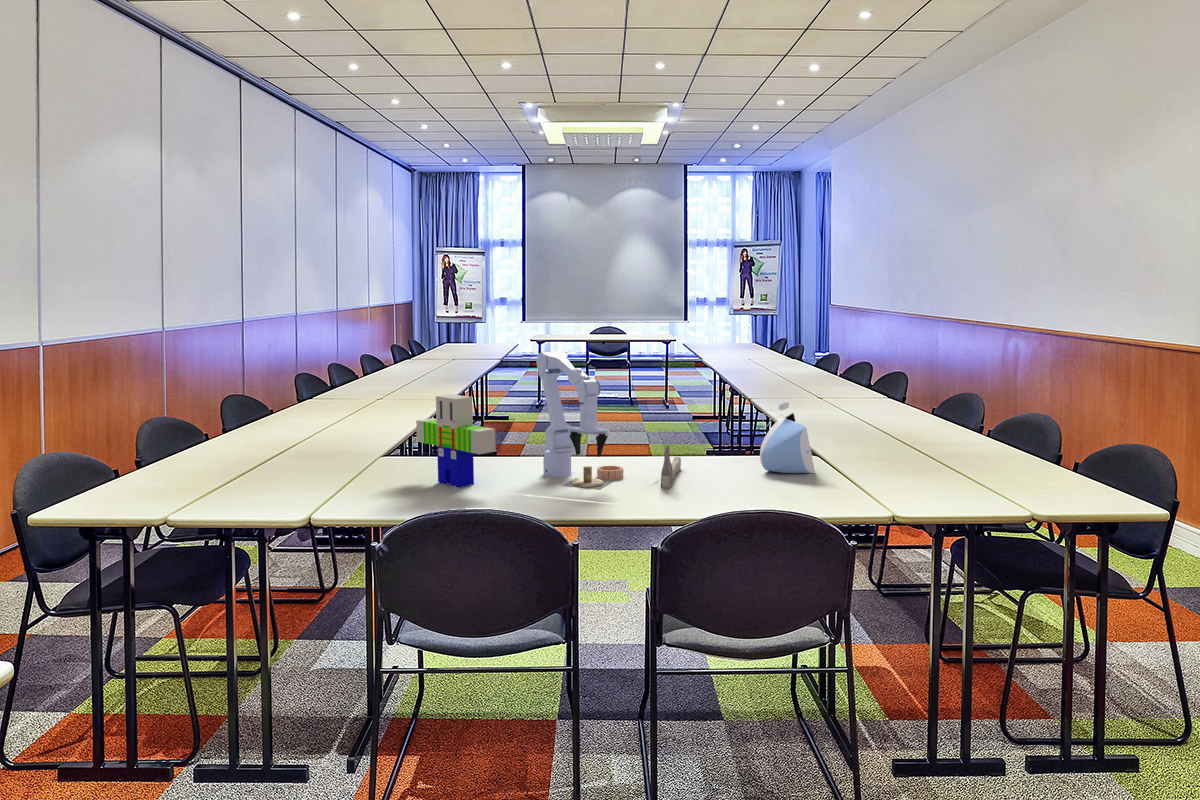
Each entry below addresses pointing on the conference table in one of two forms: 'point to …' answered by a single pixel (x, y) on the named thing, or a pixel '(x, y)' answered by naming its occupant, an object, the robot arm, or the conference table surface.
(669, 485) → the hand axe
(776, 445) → the retro desktop computer
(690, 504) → the conference table surface
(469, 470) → the toy
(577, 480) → the lid
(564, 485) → the mat
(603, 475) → the bowl
